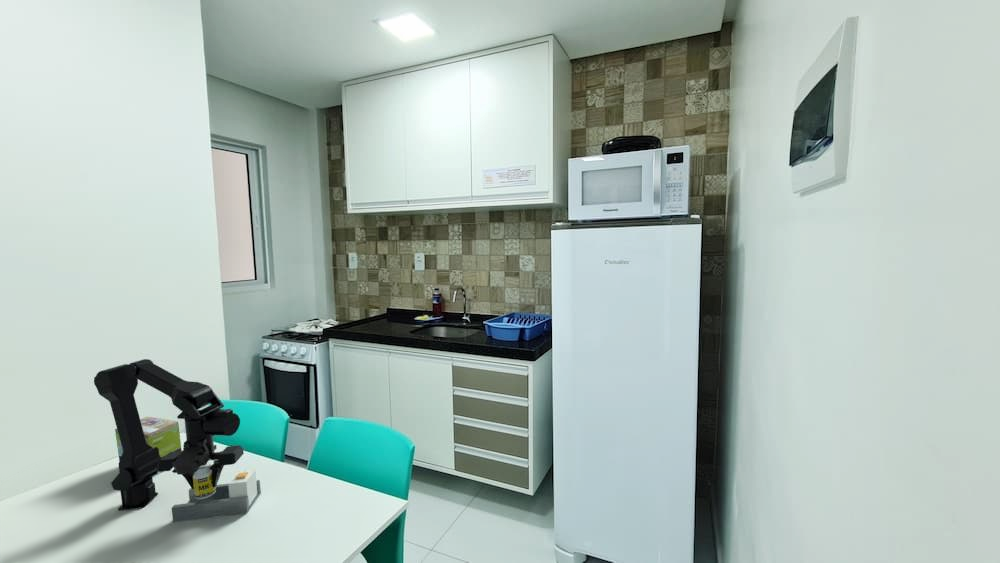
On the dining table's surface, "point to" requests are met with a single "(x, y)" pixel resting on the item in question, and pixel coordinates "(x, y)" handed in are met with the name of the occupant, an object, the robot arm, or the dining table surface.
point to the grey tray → (213, 505)
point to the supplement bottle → (203, 482)
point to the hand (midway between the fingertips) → (204, 487)
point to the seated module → (243, 485)
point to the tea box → (158, 436)
